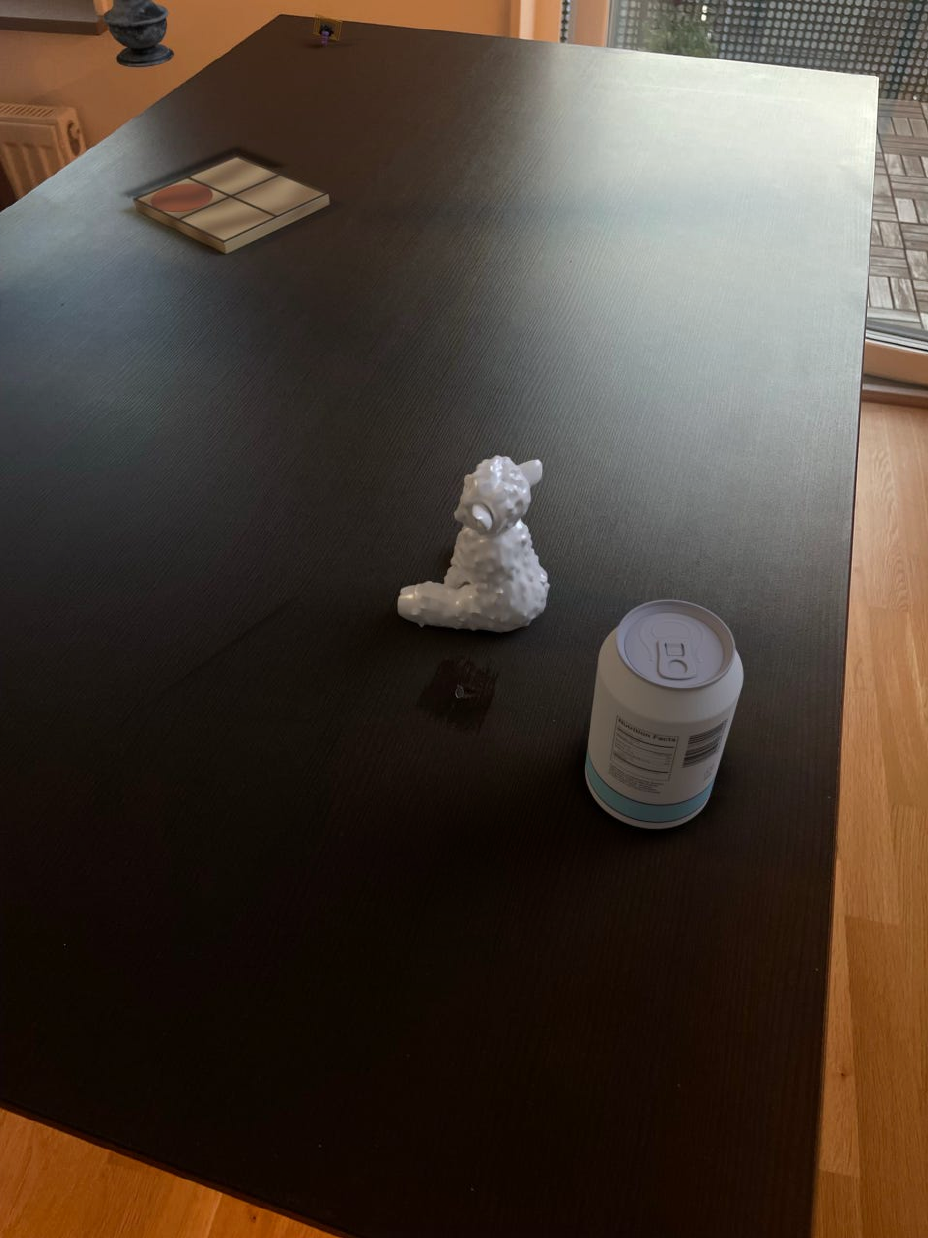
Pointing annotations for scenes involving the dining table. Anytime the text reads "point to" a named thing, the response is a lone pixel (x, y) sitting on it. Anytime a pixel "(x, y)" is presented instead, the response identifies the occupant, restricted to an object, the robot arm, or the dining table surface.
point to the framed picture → (326, 29)
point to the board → (231, 203)
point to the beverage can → (661, 713)
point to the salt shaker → (139, 32)
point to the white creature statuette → (487, 557)
